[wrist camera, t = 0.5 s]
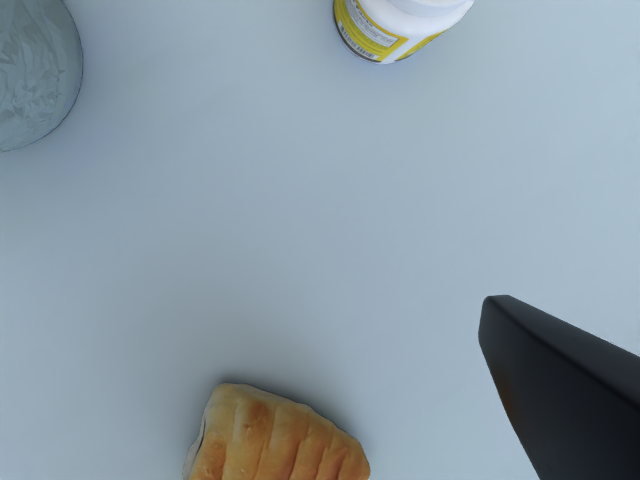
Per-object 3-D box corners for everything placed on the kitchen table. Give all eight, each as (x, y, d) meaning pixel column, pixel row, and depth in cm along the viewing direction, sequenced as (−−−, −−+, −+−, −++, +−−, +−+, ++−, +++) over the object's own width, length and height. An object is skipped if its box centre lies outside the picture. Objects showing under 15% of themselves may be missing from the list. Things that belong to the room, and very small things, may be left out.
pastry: (379, 410, 26) (397, 454, 23) (341, 514, 27) (352, 573, 24) (211, 369, 25) (201, 408, 21) (178, 480, 26) (162, 537, 22)
